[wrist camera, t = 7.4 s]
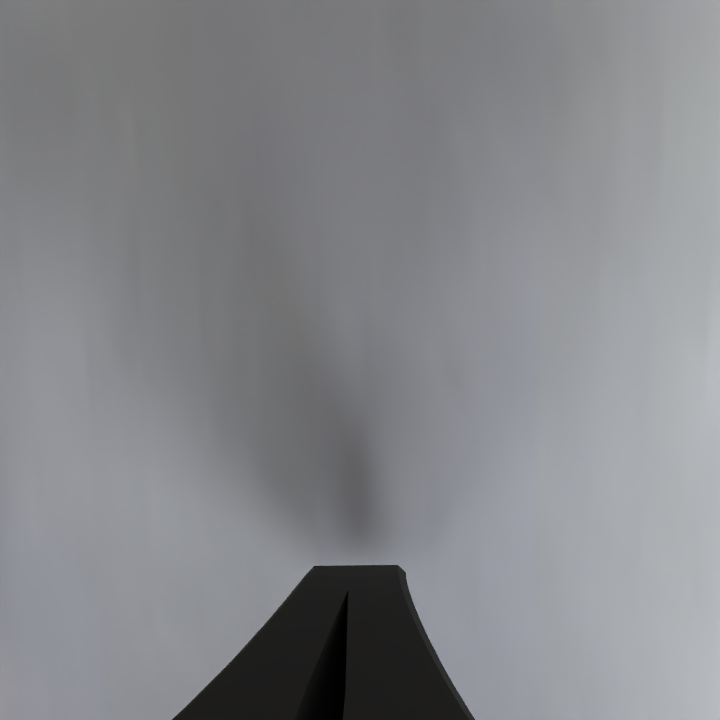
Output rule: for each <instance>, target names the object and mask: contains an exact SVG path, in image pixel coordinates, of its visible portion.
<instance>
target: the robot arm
mask: <svg viewBox="0 0 720 720" xmlns="http://www.w3.org/2000/svg"><path fill="white" fill-rule="evenodd" d="M172 720H475V719H474V717H473V716H472V714H471V713H470V711H469V709H468V708H467V706H466V705H465V703H464V701H463V700H462V698H461V696H460V695H459V693H458V692H457V690H456V688H455V687H454V685H453V683H452V681H451V680H450V678H449V676H448V674H447V673H446V671H445V669H444V667H443V666H442V664H441V662H440V660H439V658H438V656H437V654H436V652H435V650H434V648H433V646H432V644H431V642H430V640H429V638H428V636H427V634H426V632H425V630H424V628H423V626H422V623H421V621H420V619H419V616H418V614H417V611H416V609H415V606H414V604H413V601H412V598H411V595H410V592H409V589H408V585H407V580H406V572H405V571H404V570H402V569H401V568H400V567H399V566H398V565H363V566H314V567H313V568H312V569H311V570H310V571H309V572H308V573H307V574H306V576H305V577H304V578H303V579H302V580H301V582H300V583H299V584H298V585H297V586H296V588H295V589H294V590H293V591H292V593H291V594H290V595H289V596H288V597H287V599H286V600H285V601H284V602H283V604H282V605H281V606H280V607H279V608H278V609H277V611H276V612H275V613H274V614H273V615H272V617H271V618H270V619H269V620H268V621H267V622H266V624H265V625H264V626H263V627H262V628H261V629H260V630H259V631H258V632H257V634H256V635H255V636H254V637H253V638H252V639H251V640H250V641H249V642H248V644H247V645H246V646H245V647H244V648H243V649H242V650H241V651H240V653H239V654H238V655H237V656H236V657H235V658H234V659H233V660H232V661H231V662H230V663H229V664H228V665H227V666H226V667H225V668H224V669H223V670H222V671H221V672H220V673H219V674H218V675H217V676H216V677H215V678H214V679H213V680H212V681H211V682H210V683H209V684H208V685H207V686H206V687H205V688H204V689H203V690H202V691H201V692H200V693H199V694H198V695H197V696H196V697H195V698H194V699H193V700H192V701H191V702H190V703H189V704H188V705H187V706H186V707H185V708H184V709H183V710H182V711H181V712H180V713H179V714H178V715H177V716H175V717H174V718H173V719H172Z"/></svg>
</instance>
